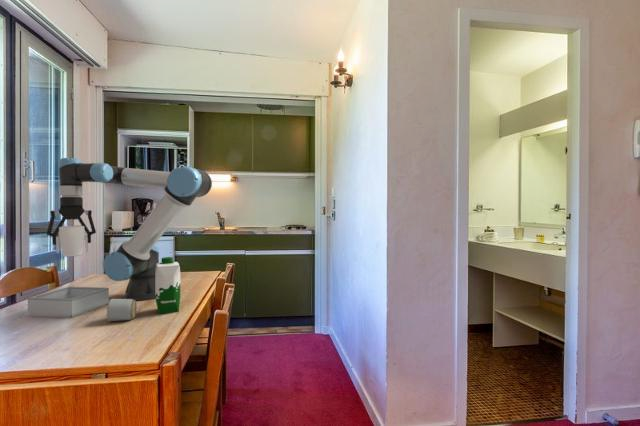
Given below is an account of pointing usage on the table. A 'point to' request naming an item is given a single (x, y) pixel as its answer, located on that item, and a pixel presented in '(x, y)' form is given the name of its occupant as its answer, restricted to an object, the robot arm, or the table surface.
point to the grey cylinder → (121, 309)
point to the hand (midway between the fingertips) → (72, 251)
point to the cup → (71, 240)
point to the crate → (68, 302)
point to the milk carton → (167, 285)
